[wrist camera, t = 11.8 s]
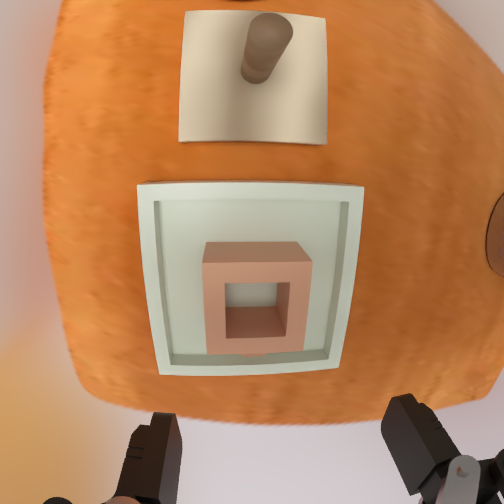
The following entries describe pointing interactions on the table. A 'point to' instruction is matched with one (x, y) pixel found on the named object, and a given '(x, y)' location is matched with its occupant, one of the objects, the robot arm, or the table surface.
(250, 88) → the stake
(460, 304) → the table surface
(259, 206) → the tray
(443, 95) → the table surface
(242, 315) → the collar
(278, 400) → the table surface
